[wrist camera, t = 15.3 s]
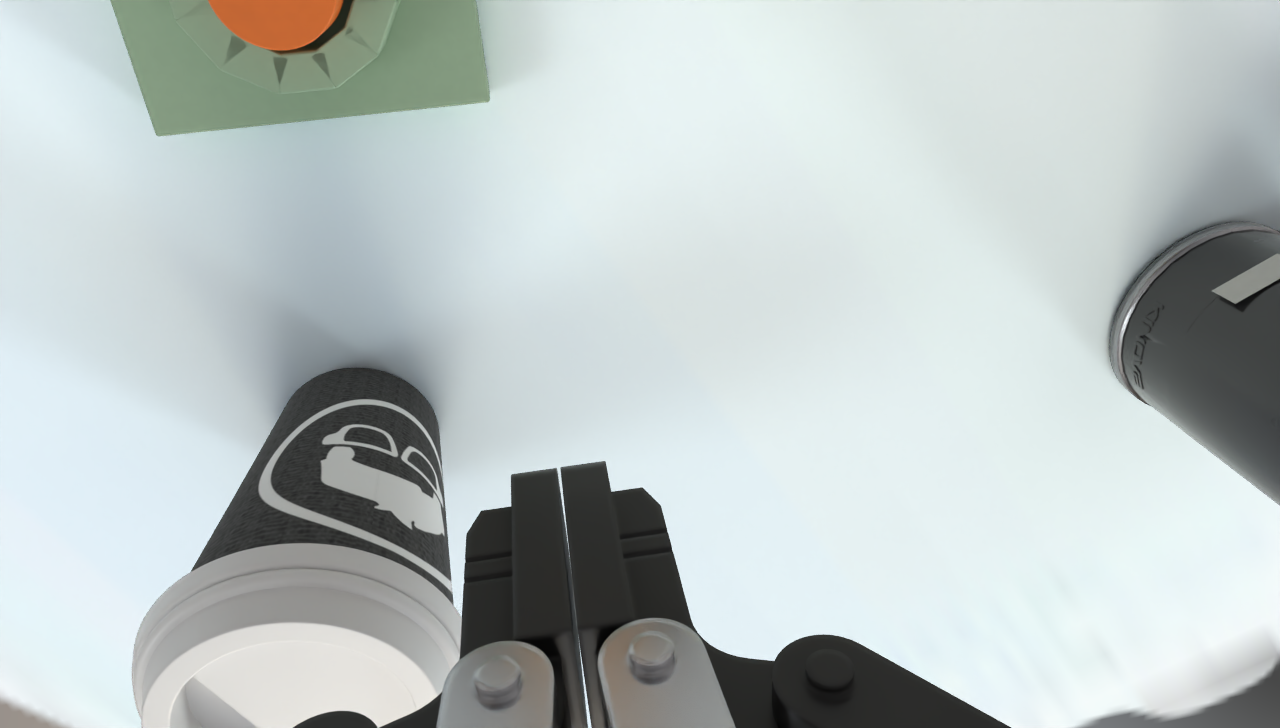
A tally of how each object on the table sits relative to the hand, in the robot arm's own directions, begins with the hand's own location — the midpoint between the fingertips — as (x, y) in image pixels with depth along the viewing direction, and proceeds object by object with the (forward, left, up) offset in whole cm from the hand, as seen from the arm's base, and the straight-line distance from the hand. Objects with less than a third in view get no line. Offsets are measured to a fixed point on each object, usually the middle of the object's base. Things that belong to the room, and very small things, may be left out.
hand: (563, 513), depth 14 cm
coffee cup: (+8, +11, -22) cm, 26 cm away
